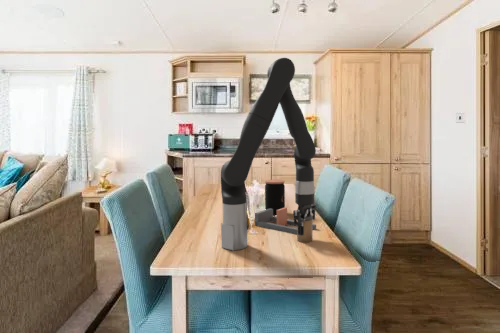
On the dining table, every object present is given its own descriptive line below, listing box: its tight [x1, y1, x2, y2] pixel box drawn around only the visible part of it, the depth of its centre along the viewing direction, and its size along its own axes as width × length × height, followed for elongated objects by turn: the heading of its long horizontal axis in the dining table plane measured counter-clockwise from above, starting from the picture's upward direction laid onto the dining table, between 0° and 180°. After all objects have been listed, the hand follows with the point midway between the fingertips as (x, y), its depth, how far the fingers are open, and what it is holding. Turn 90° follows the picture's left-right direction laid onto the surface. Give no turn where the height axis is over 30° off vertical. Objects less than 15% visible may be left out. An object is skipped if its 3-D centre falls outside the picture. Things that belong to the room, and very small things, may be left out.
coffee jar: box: [264, 179, 286, 216], centre depth 174 cm, size 11×11×18 cm
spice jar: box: [296, 215, 313, 244], centre depth 129 cm, size 6×6×10 cm
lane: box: [254, 208, 317, 235], centre depth 148 cm, size 26×12×6 cm, turn 50°
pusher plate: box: [274, 206, 288, 226], centre depth 150 cm, size 4×7×8 cm, turn 140°
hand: (304, 232), depth 129 cm, fingers closed on spice jar, 6 cm apart
